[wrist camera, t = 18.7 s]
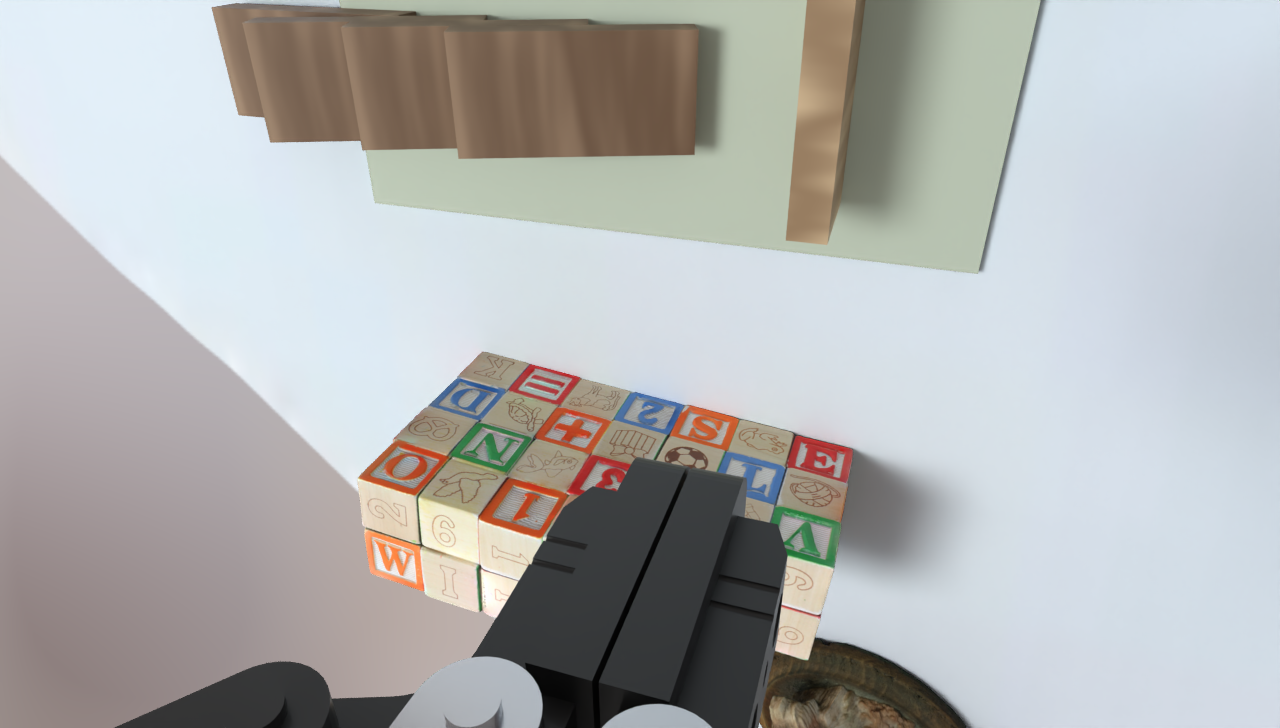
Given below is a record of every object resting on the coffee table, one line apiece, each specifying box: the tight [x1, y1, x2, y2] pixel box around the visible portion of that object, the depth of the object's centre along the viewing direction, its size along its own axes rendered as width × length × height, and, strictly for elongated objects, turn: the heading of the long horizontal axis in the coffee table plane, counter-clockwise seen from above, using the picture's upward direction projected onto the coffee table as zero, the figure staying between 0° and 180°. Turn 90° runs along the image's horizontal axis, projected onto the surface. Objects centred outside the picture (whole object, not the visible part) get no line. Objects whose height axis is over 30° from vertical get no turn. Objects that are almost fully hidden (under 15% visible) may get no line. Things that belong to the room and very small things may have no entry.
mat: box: [339, 0, 1041, 274], centre depth 35 cm, size 30×16×1 cm, turn 91°
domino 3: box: [341, 19, 588, 150], centre depth 35 cm, size 2×5×10 cm
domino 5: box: [786, 0, 866, 245], centre depth 31 cm, size 2×5×10 cm
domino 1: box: [212, 3, 416, 117], centre depth 39 cm, size 2×5×10 cm
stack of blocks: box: [357, 352, 853, 660], centre depth 40 cm, size 21×6×12 cm, turn 85°
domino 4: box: [444, 24, 699, 159], centre depth 34 cm, size 2×5×10 cm
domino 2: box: [242, 15, 488, 142], centre depth 36 cm, size 2×5×10 cm
